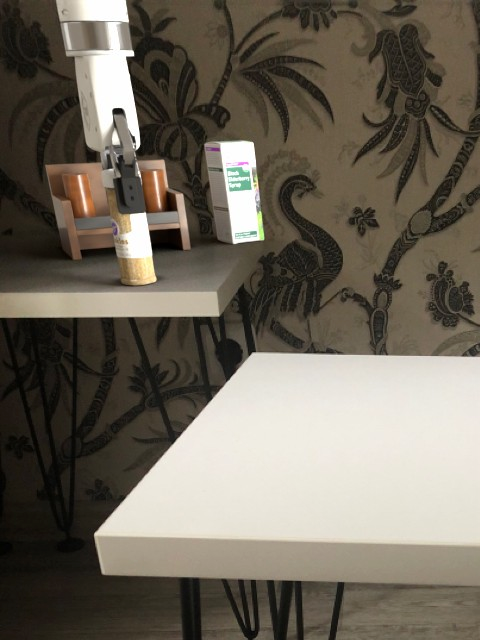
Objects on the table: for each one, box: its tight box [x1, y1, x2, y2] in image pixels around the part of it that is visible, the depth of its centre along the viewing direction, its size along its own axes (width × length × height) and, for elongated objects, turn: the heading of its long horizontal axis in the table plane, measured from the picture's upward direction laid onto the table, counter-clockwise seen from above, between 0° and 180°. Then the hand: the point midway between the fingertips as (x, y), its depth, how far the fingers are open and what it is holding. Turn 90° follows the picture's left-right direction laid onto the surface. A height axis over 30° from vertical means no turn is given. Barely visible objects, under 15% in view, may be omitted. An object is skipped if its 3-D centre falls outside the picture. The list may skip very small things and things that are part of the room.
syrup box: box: [203, 140, 265, 245], centre depth 145 cm, size 6×6×14 cm
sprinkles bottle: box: [102, 169, 158, 287], centre depth 116 cm, size 5×5×14 cm
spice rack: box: [44, 159, 192, 261], centre depth 139 cm, size 17×10×12 cm, turn 119°
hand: (126, 209), depth 115 cm, fingers open, 5 cm apart
